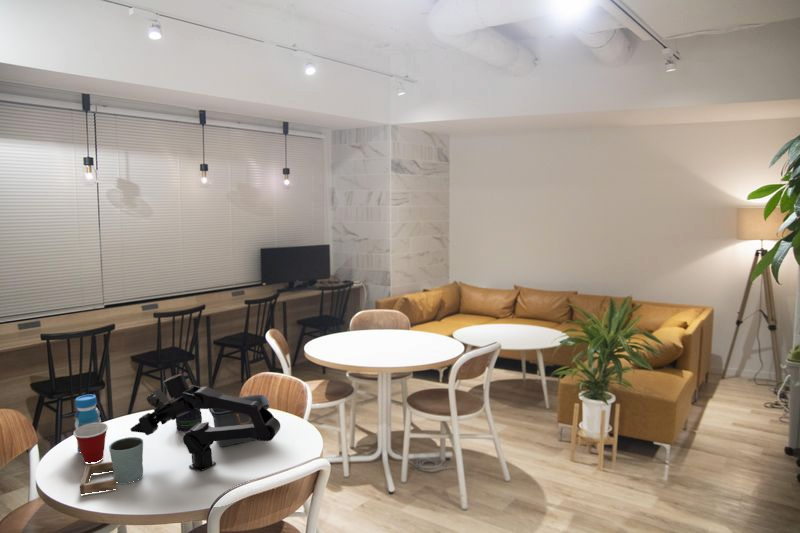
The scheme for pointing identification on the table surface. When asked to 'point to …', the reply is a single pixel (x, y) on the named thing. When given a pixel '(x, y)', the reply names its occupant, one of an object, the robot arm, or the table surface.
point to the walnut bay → (100, 485)
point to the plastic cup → (91, 441)
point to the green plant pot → (127, 459)
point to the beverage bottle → (86, 411)
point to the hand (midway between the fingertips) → (138, 424)
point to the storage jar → (187, 420)
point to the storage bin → (235, 418)
